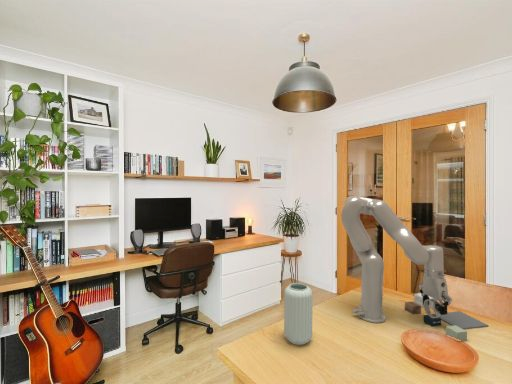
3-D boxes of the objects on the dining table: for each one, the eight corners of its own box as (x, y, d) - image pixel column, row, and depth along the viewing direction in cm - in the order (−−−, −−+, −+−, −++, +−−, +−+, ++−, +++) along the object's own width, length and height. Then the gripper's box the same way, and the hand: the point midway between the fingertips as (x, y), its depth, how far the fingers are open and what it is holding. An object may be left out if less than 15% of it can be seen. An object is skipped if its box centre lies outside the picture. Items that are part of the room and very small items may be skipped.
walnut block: (412, 314, 134) (412, 306, 134) (404, 309, 139) (405, 302, 139) (420, 313, 135) (421, 305, 135) (413, 309, 140) (413, 301, 140)
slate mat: (459, 329, 119) (459, 328, 119) (432, 315, 133) (432, 313, 133) (488, 326, 122) (488, 325, 122) (459, 312, 136) (459, 311, 136)
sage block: (456, 342, 110) (456, 332, 110) (445, 335, 115) (446, 326, 115) (466, 340, 111) (466, 331, 111) (455, 334, 116) (455, 325, 116)
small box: (437, 307, 142) (438, 297, 142) (426, 309, 140) (426, 299, 140) (425, 301, 150) (425, 292, 150) (413, 302, 148) (413, 293, 148)
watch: (435, 328, 120) (435, 304, 120) (420, 320, 128) (420, 297, 128) (445, 327, 122) (445, 303, 121) (429, 318, 129) (430, 296, 129)
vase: (295, 329, 120) (295, 279, 119) (317, 339, 111) (318, 286, 111) (278, 339, 112) (278, 286, 111) (301, 351, 103) (301, 294, 103)
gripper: (458, 278, 117) (458, 317, 117) (425, 266, 134) (426, 301, 134) (443, 279, 115) (444, 319, 115) (412, 268, 132) (413, 302, 132)
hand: (434, 309), depth 125 cm, fingers open, 9 cm apart
